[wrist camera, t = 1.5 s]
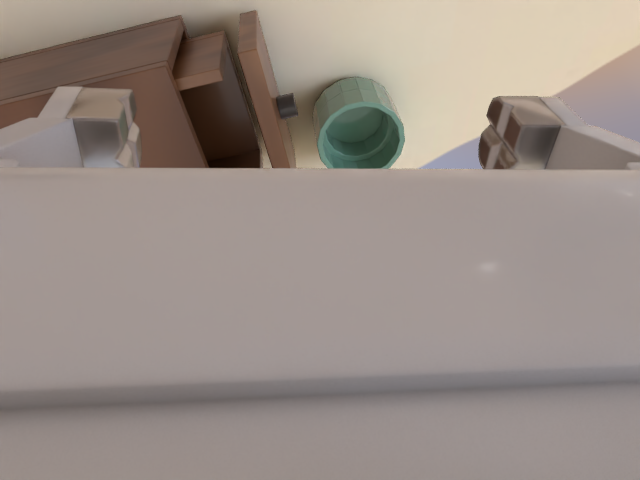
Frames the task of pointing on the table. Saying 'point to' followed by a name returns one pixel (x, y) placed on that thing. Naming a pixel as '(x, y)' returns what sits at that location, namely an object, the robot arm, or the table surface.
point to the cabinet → (113, 85)
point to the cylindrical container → (357, 126)
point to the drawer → (234, 99)
